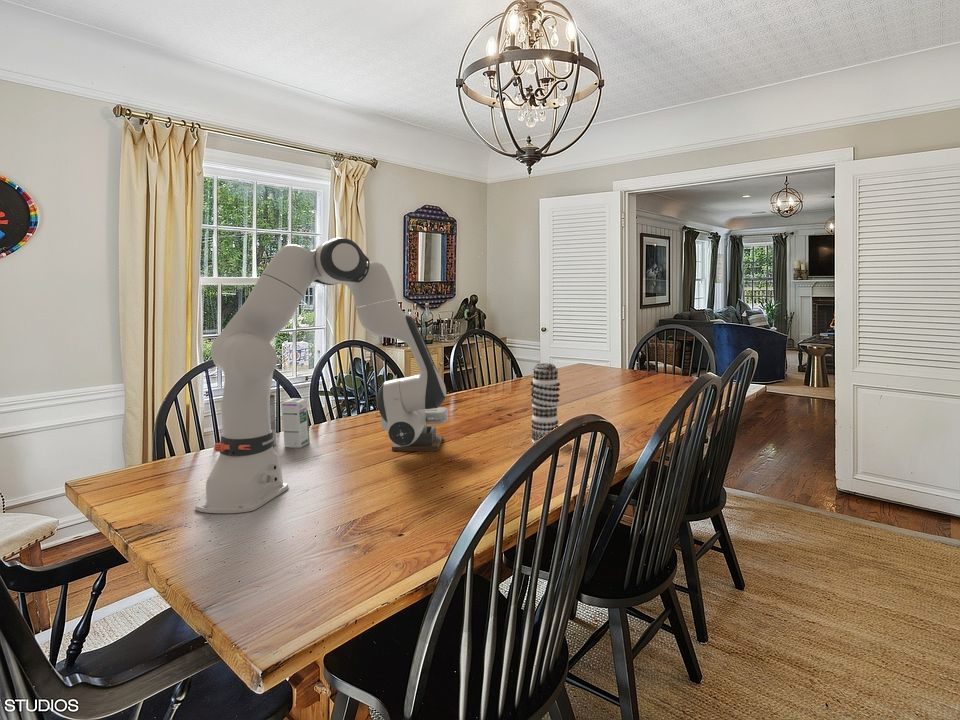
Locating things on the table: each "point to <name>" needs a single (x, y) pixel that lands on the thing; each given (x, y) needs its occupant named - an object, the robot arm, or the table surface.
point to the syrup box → (295, 422)
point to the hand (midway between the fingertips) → (417, 409)
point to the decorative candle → (544, 400)
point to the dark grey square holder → (423, 442)
